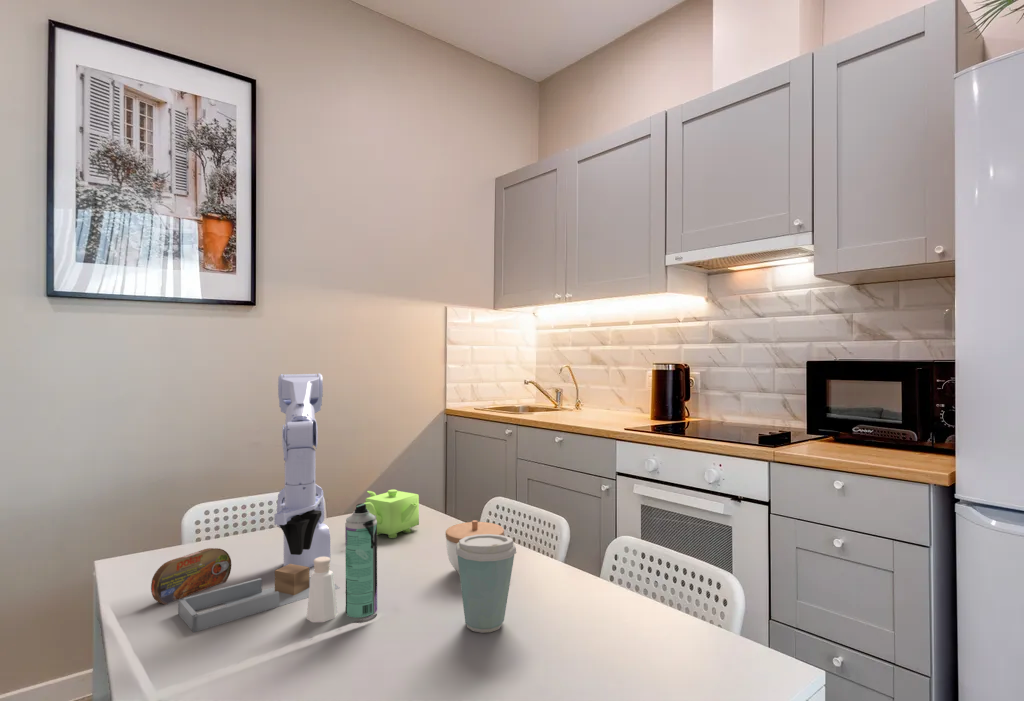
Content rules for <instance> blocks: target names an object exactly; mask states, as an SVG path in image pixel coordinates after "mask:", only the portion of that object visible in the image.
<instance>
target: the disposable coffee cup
mask: <svg viewBox="0 0 1024 701" xmlns="http://www.w3.org/2000/svg"><path fill="white" fill-rule="evenodd" d="M455 550H456V555H457V556H458V565H459V573H460V575H459V580H460V581H459V582H460V589H461V598H462V604H463V614H464V623H465V624H466V627H467V628H468V629H469V630H470V631H472V632H476V633H492V632H495V631H497V630H499V629H501V627H502V626H503V623H504V621H505V616H506V610H507V605H508V604H507V603H508V597H509V591H510V585H511V578H512V572H513V567H514V561H515V555H516V554H517V547H516V544H515V542H514V540H513V539H512V537H511V536H507V535H504V536H503V535H494V534H480V535H472V536H467V537H464V538H463V539H461V540H459V542H458V543H457V544H456V549H455ZM459 573H458V574H459Z"/></svg>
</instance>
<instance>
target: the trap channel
mask: <svg viewBox="0 0 1024 701" xmlns="http://www.w3.org/2000/svg"><path fill="white" fill-rule="evenodd" d="M310 579H311V576H309V588H308V589H306V590H304V591H302V592H300V593H298V594H296V595H291V594H286V593H281V592H278V591H275V586H273V587H269V588H266V589H263V585H262V584H263V580H262V578H261V577H259V578H256V579H251V580H249V581H244V582H240V583H237V584H232V585H229V586H224V587H221V588H217V589H213V590H210V591H209V590H208V591H205V592H202V593H198V594H194V595H193V594H192V595H191V596H190V595H189V596H186V597H183V598H180V599H178V600H177V602H178V603H177V605H178V609H177V613H178V615H179V617H180V618H181V619H182V620H183V622H184V623H185V624H186V625H187V626H188V628H189V629H190V630H191V631H192V633H196V632H198V631H202V630H205V629H206V630H207V629H209V628H213V627H215V626H218V625H222V624H225V623H229V622H232V621H235V620H239V619H242V618H245V617H249V616H252V615H255V614H258V613H263V612H265V611H269V610H271V609H275V608H279V607H281V606H286V605H288V604H292V603H296V602H298V601H302V600H306V599H309V589H310ZM338 589H341V587H340V586H338V585H337V584H335V591H336V590H338ZM221 604H222V605H223V604H224V605H223V606H220V607H217V608H213V609H209V610H207V611H203V612H199V613H197V611H200V610H203V609H207V608H210V607H213V606H218V605H221Z"/></svg>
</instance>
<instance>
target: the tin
mask: <svg viewBox="0 0 1024 701" xmlns="http://www.w3.org/2000/svg"><path fill="white" fill-rule="evenodd" d="M231 571H232V559H231V556H230V554H229V553H228V552H227V551H226V550H225V549H222V548H218V547H217V548H216V547H215V548H214V547H213V548H212V547H209V548H208V547H207V548H204V549H200V550H198V551H195V552H192V553H189V554H186V555H183V556H180V557H176V558H174V559H171V560H167V561H166V562H164V563H163V564H161V566H159V567H158V568H157V570H156V571H155V573H154V575H153V576H152V579H151V583H150V592H151V595H152V598H153V599H154V601H156V602H157V603H160V604H163V605H165V606H166V605H168V604H169V603H172V602H174V601H178V599H182V598H186V597H189V596H190V595H191V596H192V595H193V594H196V593H198V592H201V591H204V590H207V589H209V588H211V587H214V586H216V585H219V584H220V585H221V584H224V583H226V582H227V581H228V579H229V576H230V575H231Z"/></svg>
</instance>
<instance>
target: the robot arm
mask: <svg viewBox="0 0 1024 701" xmlns="http://www.w3.org/2000/svg"><path fill="white" fill-rule="evenodd" d="M323 380H324V378H323V374H321V372H318V373H300V374H299V373H298V374H297V373H295V374H294V373H293V374H292V373H291V374H290V373H289V374H284V373H280V374H279V375H278V382H277V388H278V392H277V395H278V397H277V398H278V400H279V402H278V403H279V404H278V405H279V408H280V412H281V413H283V414H285V419H284V420H285V422H284V424H282V427H281V428H282V429H281V447H282V452H283V461H285V462H284V487H283V488H282V489H280V491H279V493H277V494H278V495H277V502H276V503H277V504H276V513H275V514H274V516H273V517H274V518H273V519H274V520H273V522H274V523H273V524H274V525H275V526H276V525H277V527H278V528H279V529H281V530H282V533H283V567H284V566H286V565H289V564H295V565H300V566H306V567H309V568H312V567H314V560H315V559H316V558H318V557H329V558H330V559H331V533H330V528H329V527H328V525H327V524H326V523H324V522H325V497H324V490H323V488H322V487H321V486H320V485H318V484H317V483H316V450H317V448H318V446H319V445H318V444H319V443H318V442H319V433H318V431H319V430H318V429H319V428H318V422H317V419H316V416H315V415H316V413H319V412H320V411H321V410H322V409H321V408H322V406H323V397H324V396H323V395H324V394H323V392H324V390H323V389H324V385H323V384H324V381H323ZM314 447H315V448H314Z"/></svg>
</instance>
